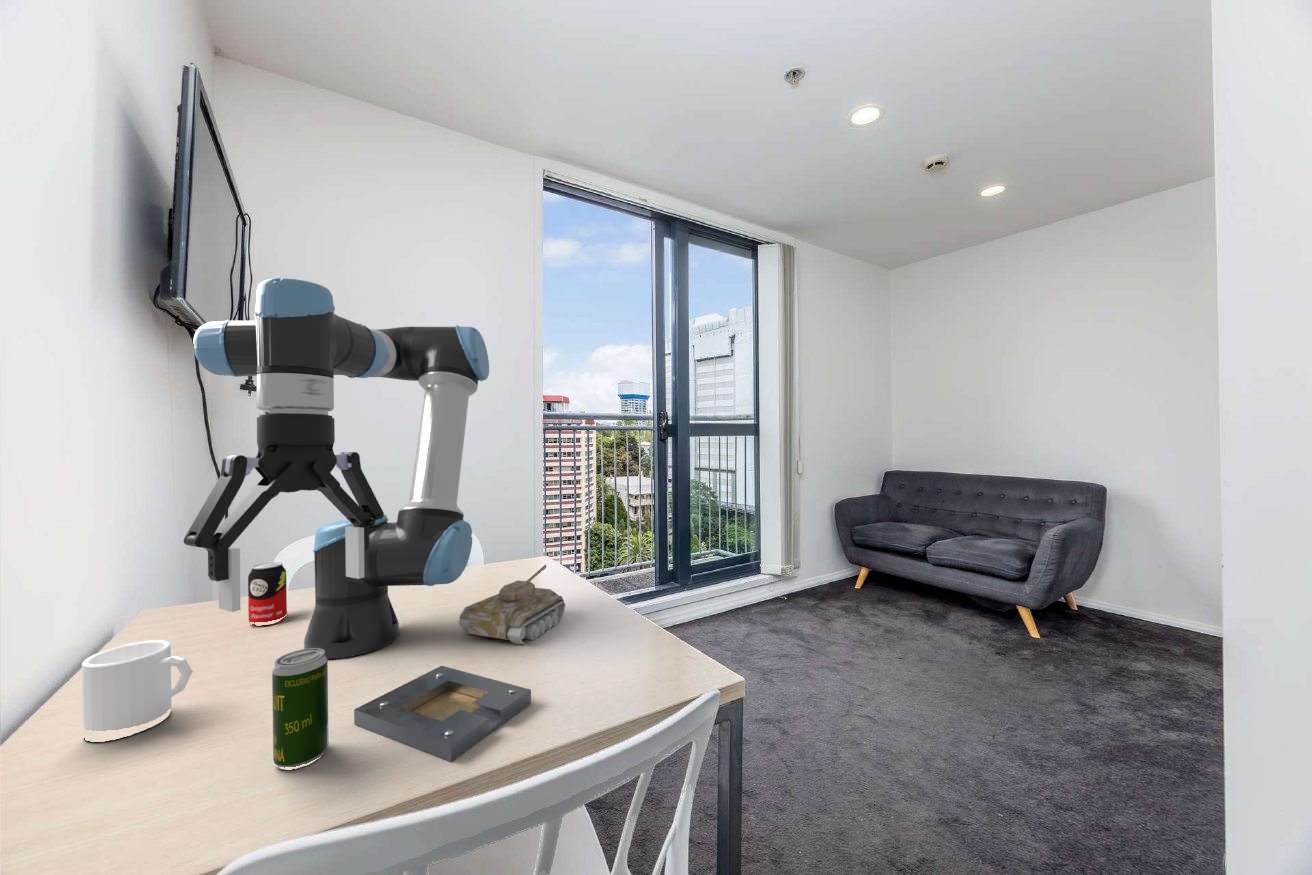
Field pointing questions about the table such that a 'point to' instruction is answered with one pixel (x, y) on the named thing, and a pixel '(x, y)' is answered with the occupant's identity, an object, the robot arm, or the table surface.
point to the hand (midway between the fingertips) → (298, 591)
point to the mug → (130, 685)
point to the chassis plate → (443, 711)
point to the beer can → (300, 707)
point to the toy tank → (514, 612)
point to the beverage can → (267, 592)
